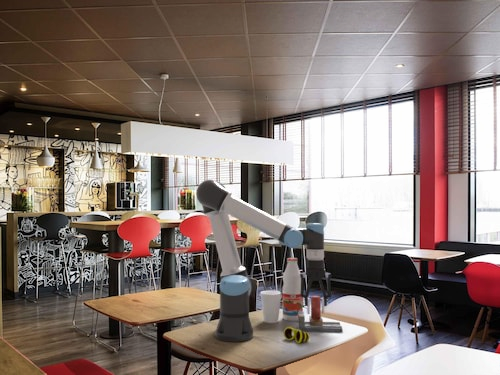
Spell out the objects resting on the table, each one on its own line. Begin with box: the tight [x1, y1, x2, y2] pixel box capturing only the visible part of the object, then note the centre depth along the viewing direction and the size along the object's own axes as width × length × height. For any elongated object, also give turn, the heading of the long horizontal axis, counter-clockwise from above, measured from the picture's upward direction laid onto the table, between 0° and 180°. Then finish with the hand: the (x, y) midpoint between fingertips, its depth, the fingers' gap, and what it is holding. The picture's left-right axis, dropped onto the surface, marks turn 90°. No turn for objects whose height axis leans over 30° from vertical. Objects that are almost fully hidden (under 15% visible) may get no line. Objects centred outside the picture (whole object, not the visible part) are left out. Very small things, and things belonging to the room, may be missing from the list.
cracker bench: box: [297, 311, 343, 333], centre depth 182 cm, size 18×10×6 cm, turn 86°
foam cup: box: [260, 290, 282, 324], centre depth 195 cm, size 10×9×13 cm
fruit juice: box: [281, 257, 304, 322], centre depth 200 cm, size 9×9×28 cm
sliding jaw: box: [308, 295, 324, 325], centre depth 183 cm, size 5×8×11 cm, turn 176°
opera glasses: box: [283, 326, 310, 344], centre depth 166 cm, size 10×5×5 cm, turn 40°
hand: (315, 313), depth 183 cm, fingers open, 5 cm apart
